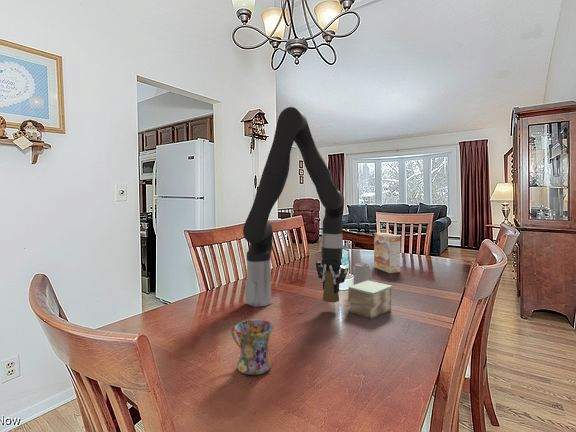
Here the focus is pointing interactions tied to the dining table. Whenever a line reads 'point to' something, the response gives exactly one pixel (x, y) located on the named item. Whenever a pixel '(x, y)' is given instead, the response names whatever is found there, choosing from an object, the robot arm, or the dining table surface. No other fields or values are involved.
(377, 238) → the coffeecake box
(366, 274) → the can
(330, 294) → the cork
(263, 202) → the robot arm
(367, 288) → the lid
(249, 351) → the mug
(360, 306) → the box
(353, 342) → the dining table surface
